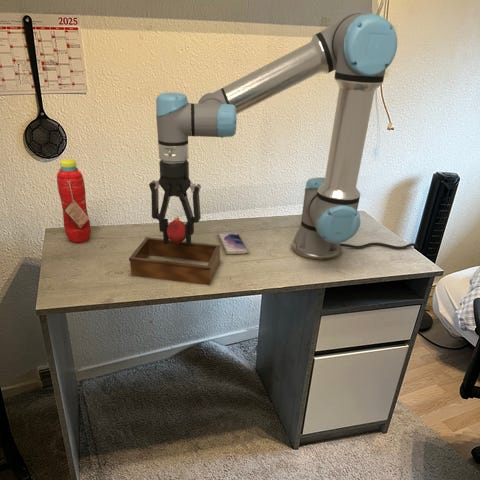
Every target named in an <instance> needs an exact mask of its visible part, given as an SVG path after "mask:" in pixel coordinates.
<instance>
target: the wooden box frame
mask: <svg viewBox="0 0 480 480" xmlns="http://www.w3.org/2000/svg"><path fill="white" fill-rule="evenodd" d="M221 245H222V244H221ZM221 245H220V244H212V243H202V242H195V241H191V244H190V245H189V247H188V246H186V240H184V241H182V242H181V243H180V244H175V243H173V242H172V241H171V240H170V239H169V241H168V243H167V244H164V241H163V238H159V237H158V238H157V237H151V236H150V237H149V236H146V237H144V239H143V240H142V242H141V243H140V244H139V245H138V246H137V248H136V249H135V250H134V251H133V253H132V254H131V255H130V256H129V257H128V261H129V265H130V276H132V277H133V276H134V277H140V278H147V279H157V280H166V281H174V282H183V283H190V284H199V285H206V286H210V285H211V282H212V280H213V278H214V277H215V273H216V271H217V268H218V266H219V264H220V262H221V261H220V258H221V256H220V255H221V248H222V246H221ZM149 256H155V257H163V258H172V259H182V260H190V261H198V262H207V264H206V265H205V264H197V263H196V264H195V263H187V262H178V261H171V260H163V259H162V260H161V259H153V258H148V257H149Z"/></svg>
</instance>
